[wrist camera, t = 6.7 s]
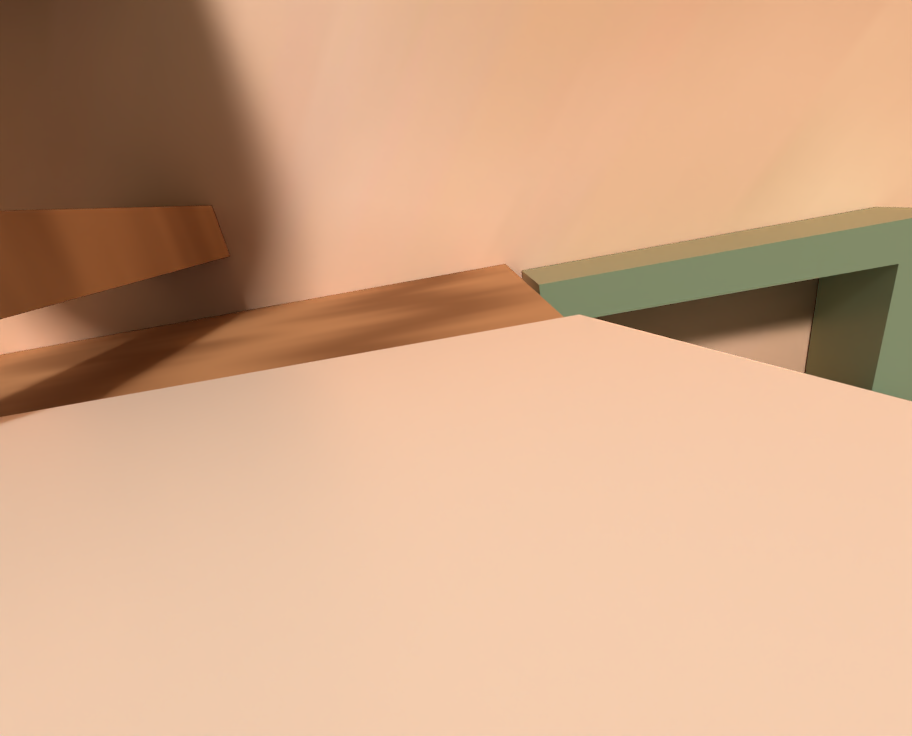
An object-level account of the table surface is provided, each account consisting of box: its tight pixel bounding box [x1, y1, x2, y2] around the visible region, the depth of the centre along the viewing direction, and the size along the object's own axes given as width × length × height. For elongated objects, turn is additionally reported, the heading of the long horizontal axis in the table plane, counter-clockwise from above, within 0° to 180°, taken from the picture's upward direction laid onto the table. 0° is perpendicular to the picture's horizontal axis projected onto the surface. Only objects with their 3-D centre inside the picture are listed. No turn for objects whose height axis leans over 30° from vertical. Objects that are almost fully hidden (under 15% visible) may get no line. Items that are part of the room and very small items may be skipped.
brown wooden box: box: [0, 264, 563, 417], centre depth 13 cm, size 20×15×8 cm
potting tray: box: [522, 207, 912, 401], centre depth 15 cm, size 12×14×2 cm
